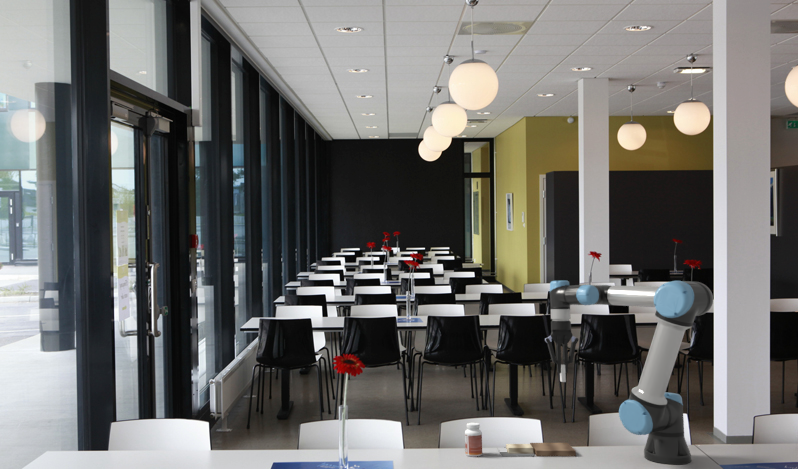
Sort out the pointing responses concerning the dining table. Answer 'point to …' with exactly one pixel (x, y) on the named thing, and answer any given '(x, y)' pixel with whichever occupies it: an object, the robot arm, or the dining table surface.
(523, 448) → the birch tile
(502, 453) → the grey square plate
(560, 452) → the board
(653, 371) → the robot arm
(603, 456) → the dining table surface
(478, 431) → the pill bottle
